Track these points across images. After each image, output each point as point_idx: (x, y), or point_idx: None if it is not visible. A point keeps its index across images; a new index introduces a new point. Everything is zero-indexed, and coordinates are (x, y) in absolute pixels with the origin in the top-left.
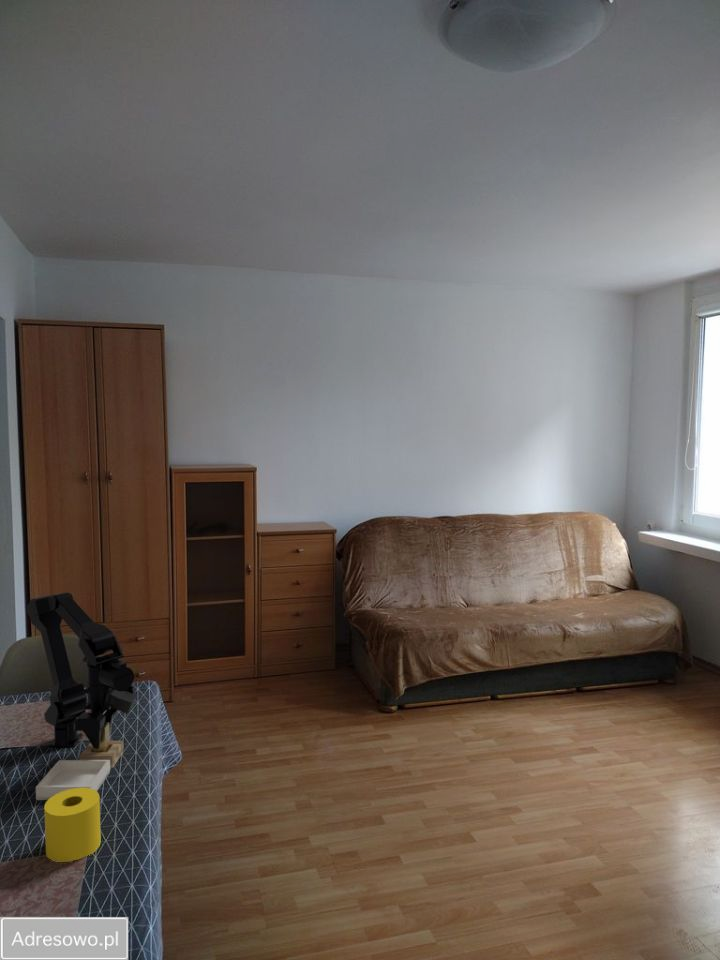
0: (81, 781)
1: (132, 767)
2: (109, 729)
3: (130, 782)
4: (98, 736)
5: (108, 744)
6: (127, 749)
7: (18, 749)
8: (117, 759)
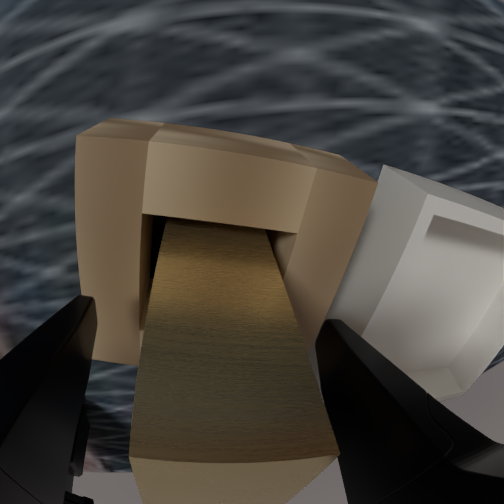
0: (439, 285)
1: (366, 31)
2: (58, 331)
3: (498, 68)
4: (436, 407)
5: (197, 253)
6: (73, 100)
7: (115, 463)
8: (243, 135)
